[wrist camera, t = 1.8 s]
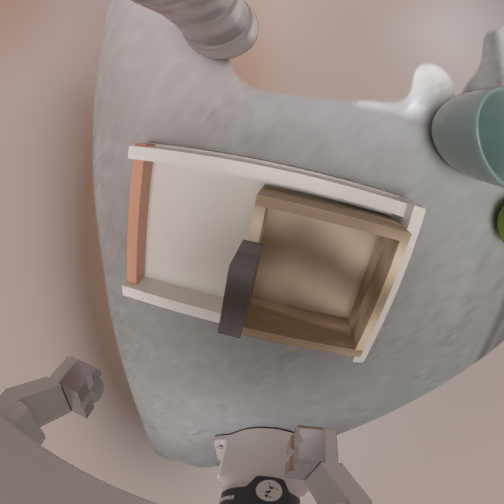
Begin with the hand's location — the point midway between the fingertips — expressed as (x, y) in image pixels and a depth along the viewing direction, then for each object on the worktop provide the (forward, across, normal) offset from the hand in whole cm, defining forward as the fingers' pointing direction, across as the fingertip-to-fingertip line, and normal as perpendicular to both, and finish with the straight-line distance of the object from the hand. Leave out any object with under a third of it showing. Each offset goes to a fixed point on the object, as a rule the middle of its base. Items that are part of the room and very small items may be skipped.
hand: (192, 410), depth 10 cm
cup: (+21, -17, -16) cm, 31 cm away
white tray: (+21, 0, 0) cm, 21 cm away
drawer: (+20, -6, 0) cm, 20 cm away
